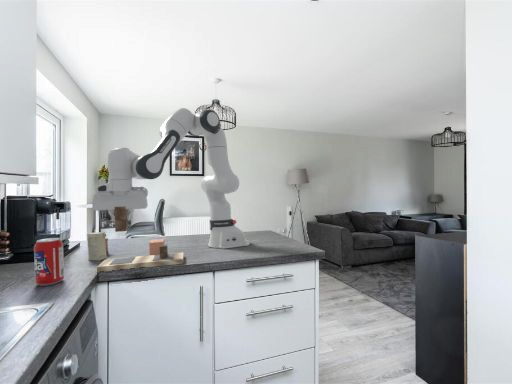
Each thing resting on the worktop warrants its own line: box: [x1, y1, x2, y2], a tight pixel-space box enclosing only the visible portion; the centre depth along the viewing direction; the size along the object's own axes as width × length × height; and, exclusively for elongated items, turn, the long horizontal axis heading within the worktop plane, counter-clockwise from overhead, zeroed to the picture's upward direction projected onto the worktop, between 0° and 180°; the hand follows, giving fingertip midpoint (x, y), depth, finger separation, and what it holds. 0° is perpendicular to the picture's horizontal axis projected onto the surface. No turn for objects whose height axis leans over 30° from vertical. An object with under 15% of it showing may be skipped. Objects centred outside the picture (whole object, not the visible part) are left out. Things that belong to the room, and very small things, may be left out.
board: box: [96, 244, 184, 273], centre depth 112 cm, size 32×12×7 cm, turn 105°
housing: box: [148, 238, 165, 255], centre depth 125 cm, size 6×8×7 cm
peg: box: [114, 207, 129, 233], centre depth 109 cm, size 4×4×10 cm
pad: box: [109, 256, 136, 265], centre depth 110 cm, size 8×9×1 cm
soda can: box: [33, 237, 65, 287], centre depth 91 cm, size 8×8×15 cm
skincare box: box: [86, 231, 107, 262], centre depth 121 cm, size 6×4×12 cm
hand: (121, 220), depth 109 cm, fingers closed on peg, 4 cm apart
